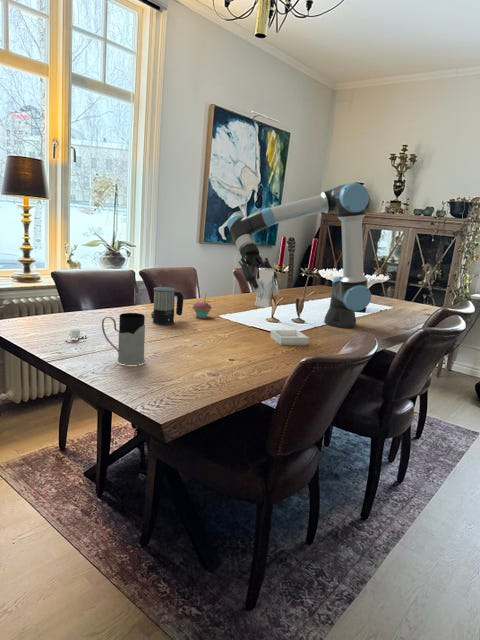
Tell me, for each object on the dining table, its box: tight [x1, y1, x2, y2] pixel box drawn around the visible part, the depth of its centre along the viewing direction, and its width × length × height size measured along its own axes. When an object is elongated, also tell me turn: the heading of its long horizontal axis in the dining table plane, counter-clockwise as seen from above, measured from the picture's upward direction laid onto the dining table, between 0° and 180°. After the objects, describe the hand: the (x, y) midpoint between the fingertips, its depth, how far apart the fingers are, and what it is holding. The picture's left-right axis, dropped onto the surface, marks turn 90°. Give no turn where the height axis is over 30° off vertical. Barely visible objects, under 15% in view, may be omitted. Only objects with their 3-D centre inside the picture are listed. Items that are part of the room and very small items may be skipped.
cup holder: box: [269, 329, 310, 346], centre depth 174 cm, size 12×12×3 cm
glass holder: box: [101, 312, 146, 365], centre depth 135 cm, size 9×14×15 cm, turn 80°
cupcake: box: [192, 292, 212, 319], centre depth 201 cm, size 9×8×12 cm
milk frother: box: [150, 286, 184, 326], centre depth 189 cm, size 14×16×15 cm
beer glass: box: [254, 268, 275, 309], centre depth 172 cm, size 7×7×15 cm
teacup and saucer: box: [68, 328, 88, 340], centre depth 153 cm, size 9×8×4 cm
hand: (269, 294), depth 170 cm, fingers closed on beer glass, 7 cm apart
